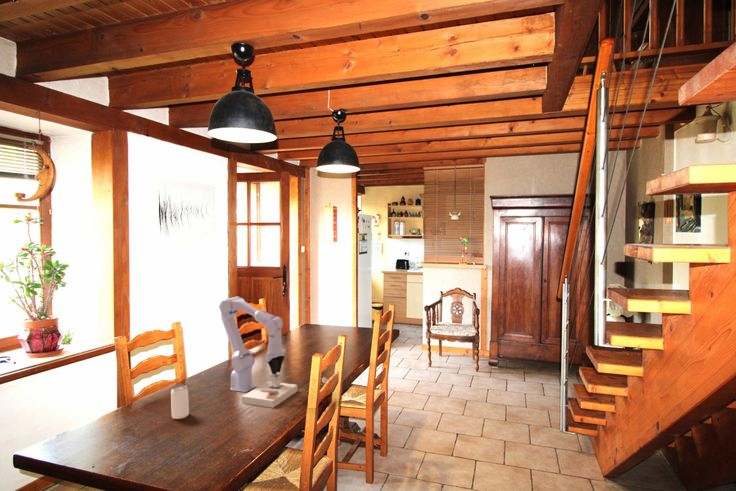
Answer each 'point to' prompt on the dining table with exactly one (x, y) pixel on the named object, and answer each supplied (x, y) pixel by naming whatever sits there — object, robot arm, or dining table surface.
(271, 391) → the block
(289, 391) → the plate
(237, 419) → the dining table surface
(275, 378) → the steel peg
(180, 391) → the can
